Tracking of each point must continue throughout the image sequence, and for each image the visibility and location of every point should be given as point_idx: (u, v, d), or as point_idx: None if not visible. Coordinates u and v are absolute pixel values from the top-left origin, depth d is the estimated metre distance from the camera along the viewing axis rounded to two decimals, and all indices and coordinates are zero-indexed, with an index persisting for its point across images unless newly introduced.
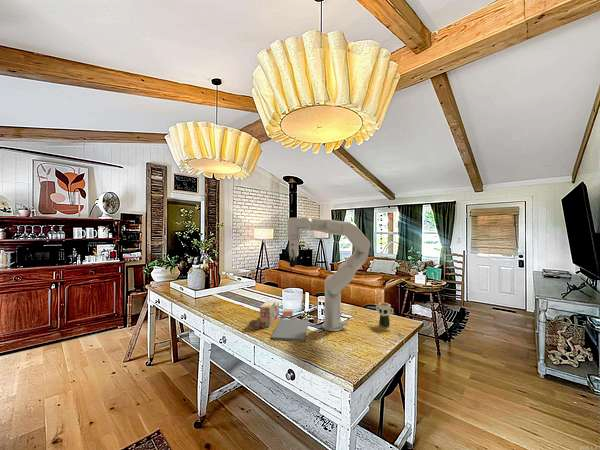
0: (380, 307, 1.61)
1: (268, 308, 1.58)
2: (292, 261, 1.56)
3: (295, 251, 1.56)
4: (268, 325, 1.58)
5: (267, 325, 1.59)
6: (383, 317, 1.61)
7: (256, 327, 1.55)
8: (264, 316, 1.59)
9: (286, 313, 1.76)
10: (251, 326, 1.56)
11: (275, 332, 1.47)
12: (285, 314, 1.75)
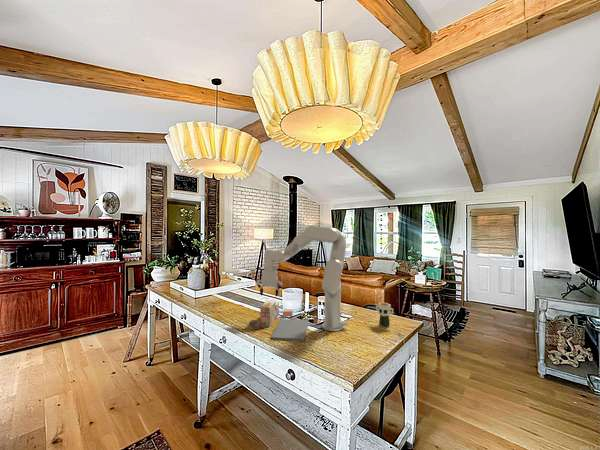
0: (380, 307, 1.61)
1: (268, 308, 1.59)
2: None
3: None
4: (268, 325, 1.59)
5: (267, 325, 1.59)
6: (383, 317, 1.61)
7: (256, 327, 1.55)
8: (264, 316, 1.59)
9: (286, 313, 1.76)
10: (251, 326, 1.56)
11: (275, 332, 1.47)
12: (285, 314, 1.75)
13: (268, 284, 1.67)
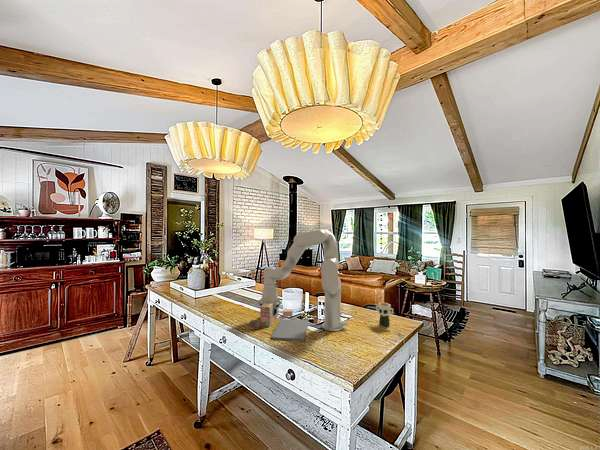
0: (380, 307, 1.61)
1: (268, 308, 1.59)
2: (276, 309, 1.69)
3: (277, 298, 1.70)
4: (268, 324, 1.59)
5: (267, 324, 1.59)
6: (383, 317, 1.61)
7: (256, 327, 1.55)
8: (264, 315, 1.59)
9: (286, 313, 1.76)
10: (251, 326, 1.56)
11: (275, 332, 1.47)
12: (285, 314, 1.75)
13: (268, 302, 1.67)
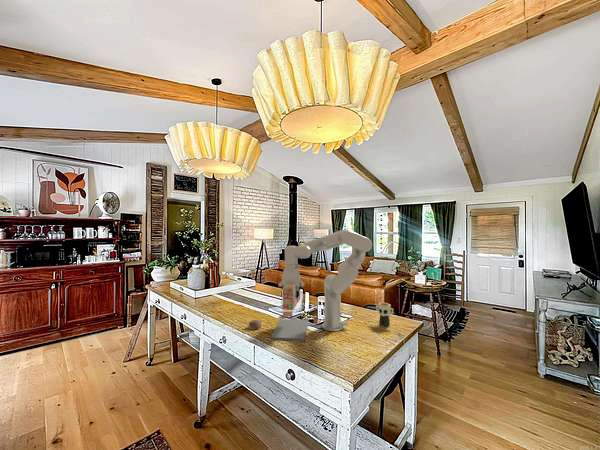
0: (380, 307, 1.61)
1: (291, 289, 1.45)
2: None
3: None
4: (292, 307, 1.45)
5: (290, 307, 1.45)
6: (383, 317, 1.61)
7: (256, 327, 1.55)
8: (286, 297, 1.45)
9: (286, 313, 1.76)
10: (251, 326, 1.56)
11: (275, 332, 1.47)
12: (285, 314, 1.76)
13: (290, 284, 1.53)
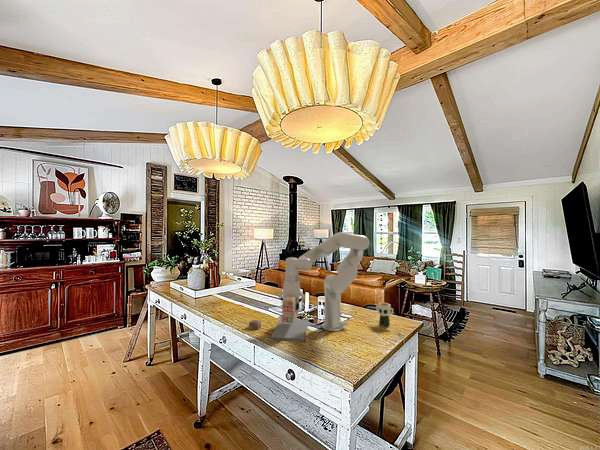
0: (380, 307, 1.61)
1: (291, 302, 1.44)
2: None
3: None
4: (291, 320, 1.44)
5: (290, 320, 1.44)
6: (383, 317, 1.61)
7: (256, 327, 1.55)
8: (286, 310, 1.44)
9: None
10: (251, 326, 1.56)
11: (275, 332, 1.47)
12: None
13: (290, 296, 1.52)
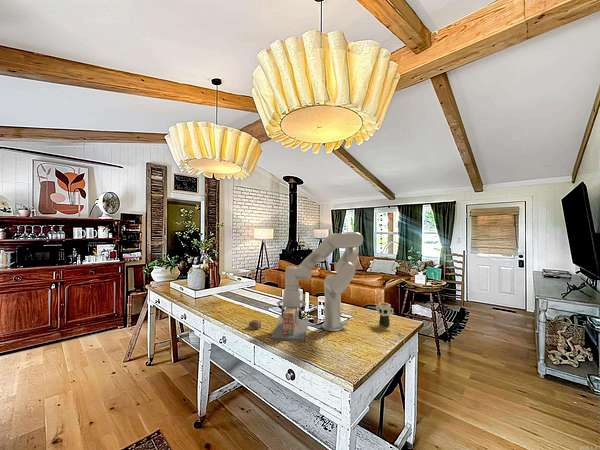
0: (380, 307, 1.61)
1: (292, 314, 1.44)
2: None
3: None
4: (292, 332, 1.44)
5: (291, 332, 1.44)
6: (383, 317, 1.61)
7: (256, 327, 1.55)
8: (287, 322, 1.45)
9: None
10: (251, 325, 1.56)
11: (275, 332, 1.47)
12: None
13: (290, 305, 1.52)
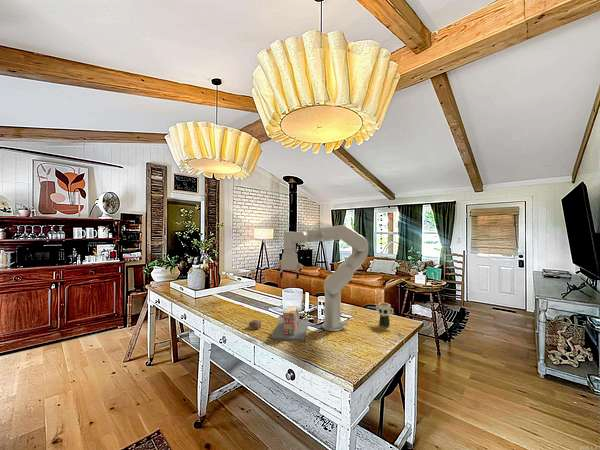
0: (380, 307, 1.61)
1: (293, 314, 1.44)
2: (298, 273, 1.63)
3: None
4: (293, 332, 1.44)
5: (291, 332, 1.44)
6: (383, 317, 1.61)
7: (255, 327, 1.55)
8: (288, 322, 1.45)
9: None
10: (251, 325, 1.56)
11: (275, 332, 1.47)
12: None
13: (289, 267, 1.61)
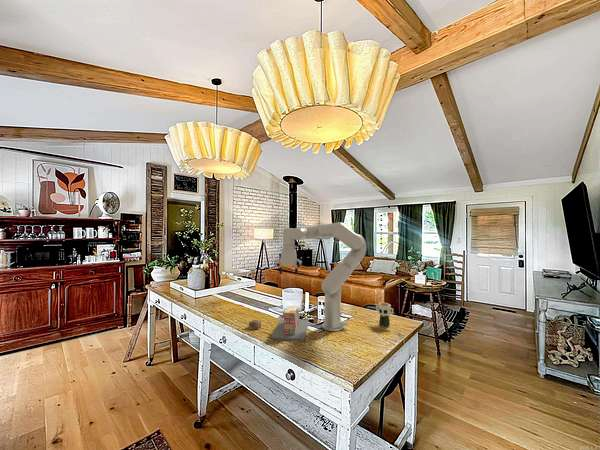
0: (380, 307, 1.61)
1: (293, 314, 1.44)
2: (297, 269, 1.67)
3: None
4: (293, 332, 1.44)
5: (292, 332, 1.44)
6: (383, 317, 1.61)
7: (255, 327, 1.55)
8: (288, 322, 1.45)
9: None
10: (251, 325, 1.56)
11: (275, 332, 1.47)
12: None
13: (287, 262, 1.66)
